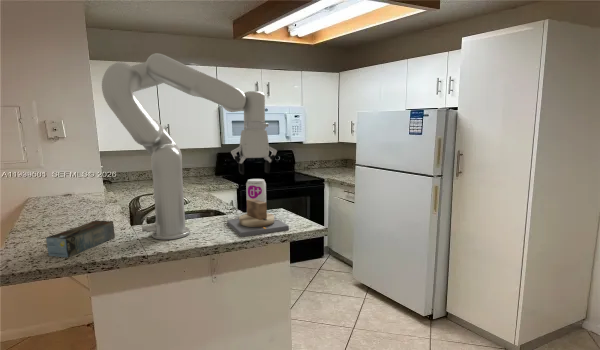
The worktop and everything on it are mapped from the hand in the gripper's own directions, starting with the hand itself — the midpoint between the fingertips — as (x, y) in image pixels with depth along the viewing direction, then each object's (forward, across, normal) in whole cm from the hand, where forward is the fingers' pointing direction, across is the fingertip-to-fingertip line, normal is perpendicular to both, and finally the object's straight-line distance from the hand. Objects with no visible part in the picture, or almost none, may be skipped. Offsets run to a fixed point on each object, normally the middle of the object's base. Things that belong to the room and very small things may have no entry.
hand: (254, 173), depth 132 cm
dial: (+19, -1, 0) cm, 19 cm away
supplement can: (+20, -7, -17) cm, 27 cm away
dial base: (+20, -1, 0) cm, 20 cm away
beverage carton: (+22, +56, -5) cm, 60 cm away
